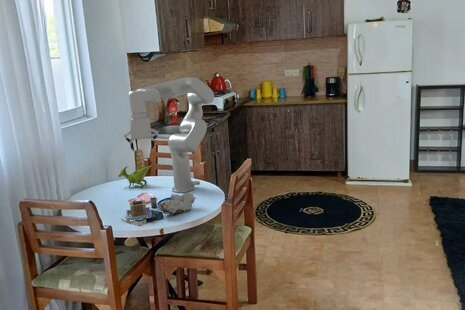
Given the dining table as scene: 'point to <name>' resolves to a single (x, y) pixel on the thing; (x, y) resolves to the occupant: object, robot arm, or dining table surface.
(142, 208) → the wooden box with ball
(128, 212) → the tray
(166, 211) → the rock
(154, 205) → the grey rounded cylinder
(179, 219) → the dining table surface
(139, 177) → the toy
